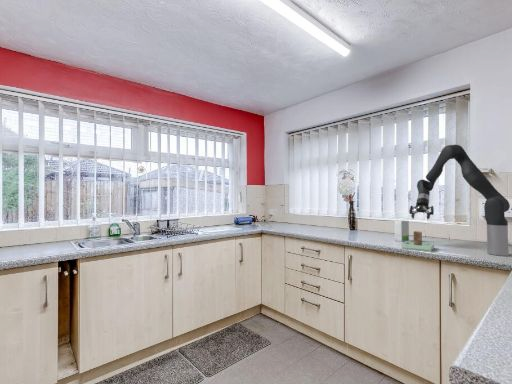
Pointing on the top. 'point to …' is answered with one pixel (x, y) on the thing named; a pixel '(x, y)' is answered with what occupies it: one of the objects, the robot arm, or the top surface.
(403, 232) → the skincare box
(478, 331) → the top surface
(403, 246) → the pale green tray
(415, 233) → the block
